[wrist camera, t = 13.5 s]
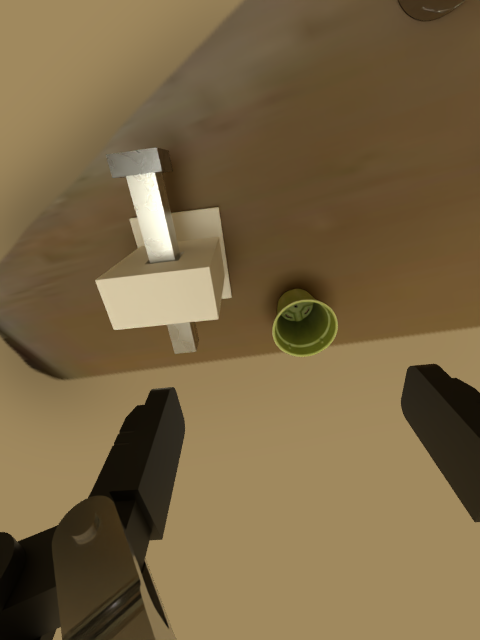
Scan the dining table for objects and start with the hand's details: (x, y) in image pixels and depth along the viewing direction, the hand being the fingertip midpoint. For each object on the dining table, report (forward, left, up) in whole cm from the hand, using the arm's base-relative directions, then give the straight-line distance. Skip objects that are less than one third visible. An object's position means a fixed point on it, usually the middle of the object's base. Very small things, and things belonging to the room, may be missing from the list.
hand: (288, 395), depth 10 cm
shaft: (+2, -11, -29) cm, 31 cm away
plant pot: (+14, +6, -36) cm, 39 cm away
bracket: (+4, -11, -36) cm, 38 cm away
